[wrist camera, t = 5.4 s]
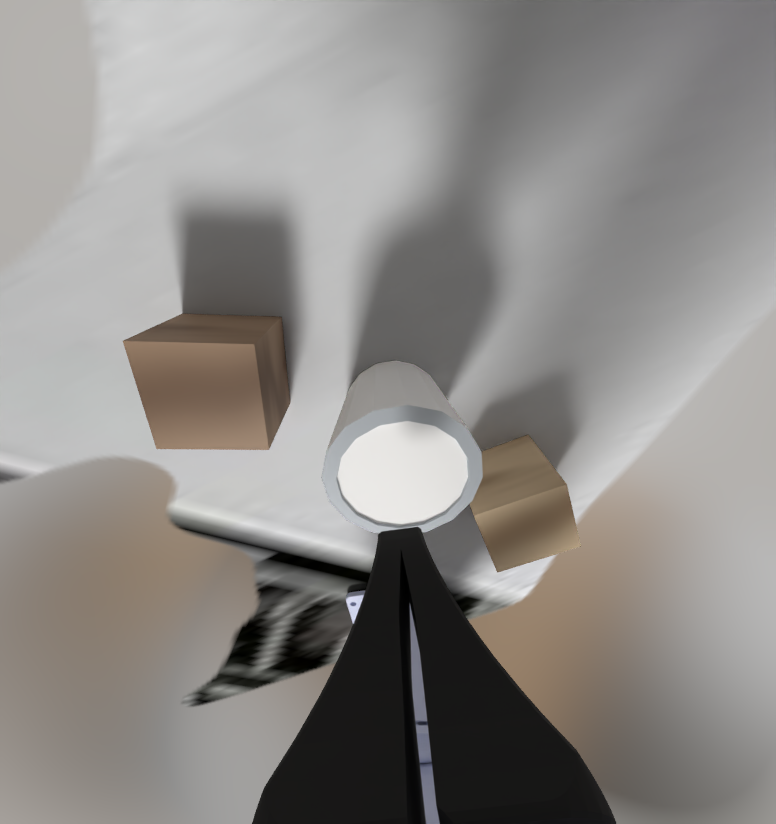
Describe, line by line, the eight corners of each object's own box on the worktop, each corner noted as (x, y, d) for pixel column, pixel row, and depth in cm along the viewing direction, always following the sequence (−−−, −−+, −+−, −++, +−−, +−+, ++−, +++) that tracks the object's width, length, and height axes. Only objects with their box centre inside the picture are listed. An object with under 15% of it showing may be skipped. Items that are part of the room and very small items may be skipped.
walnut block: (290, 402, 21) (269, 449, 16) (202, 400, 20) (156, 449, 16) (282, 316, 18) (254, 344, 14) (183, 313, 18) (122, 340, 14)
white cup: (362, 329, 19) (358, 379, 13) (471, 377, 20) (516, 442, 14) (319, 431, 22) (299, 513, 15) (418, 466, 23) (436, 553, 17)
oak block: (543, 489, 25) (581, 546, 20) (475, 512, 25) (497, 572, 21) (527, 434, 22) (566, 484, 18) (453, 460, 23) (473, 515, 19)
